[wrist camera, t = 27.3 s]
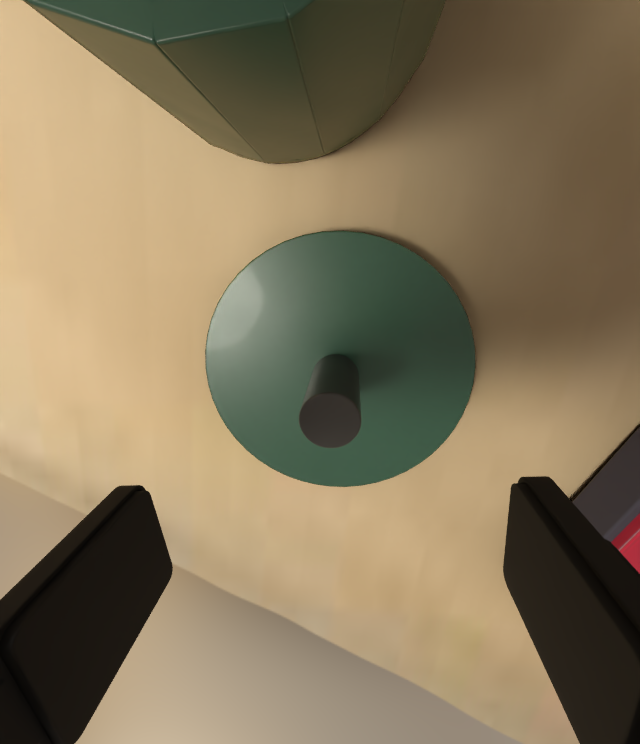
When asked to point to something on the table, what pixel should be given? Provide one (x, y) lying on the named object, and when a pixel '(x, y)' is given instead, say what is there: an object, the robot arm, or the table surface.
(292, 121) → the tin
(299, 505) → the table surface
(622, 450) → the grey red flat block
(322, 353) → the tin lid
